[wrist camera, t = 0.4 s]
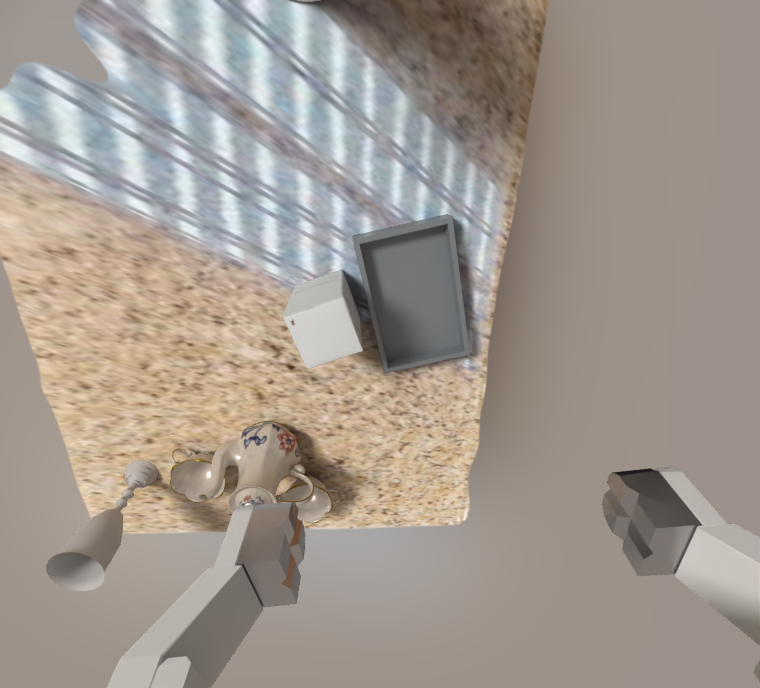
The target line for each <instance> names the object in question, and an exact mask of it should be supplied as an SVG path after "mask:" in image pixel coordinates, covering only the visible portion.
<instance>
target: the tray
mask: <svg viewBox="0 0 760 688" xmlns="http://www.w3.org/2000/svg"><path fill="white" fill-rule="evenodd" d="M353 243H354V247H355V251H356V255H357V260H358V264H359V268H360V272H361V276H362V281H363V285H364V289H365V293H366V298H367V302H368V306H369V310H370V315H371V319H372V323H373V327H374V331H375V336H376V340H377V344H378V348H379V353H380V357H381V361H382V365H383V370H384V374H385V373H389V372H394V371H398V370H403V369H407V368H412V367H416V366H421V365H425V364H430V363H434V362H438V361H443V360H447V359H452V358H456V357H461V356H465V355H470V350H469V342H468V334H467V326H466V318H465V311H464V303H463V295H462V287H461V279H460V271H459V264H458V256H457V248H456V240H455V232H454V224H453V217H452V216H450V215H448V214H446V215H441V216H437V217H433V218H428V219H424V220H420V221H415V222H411V223H407V224H402V225H398V226H394V227H389V228H385V229H381V230H376V231H372V232H368V233H363V234H359V235H355V236H353Z"/></svg>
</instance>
